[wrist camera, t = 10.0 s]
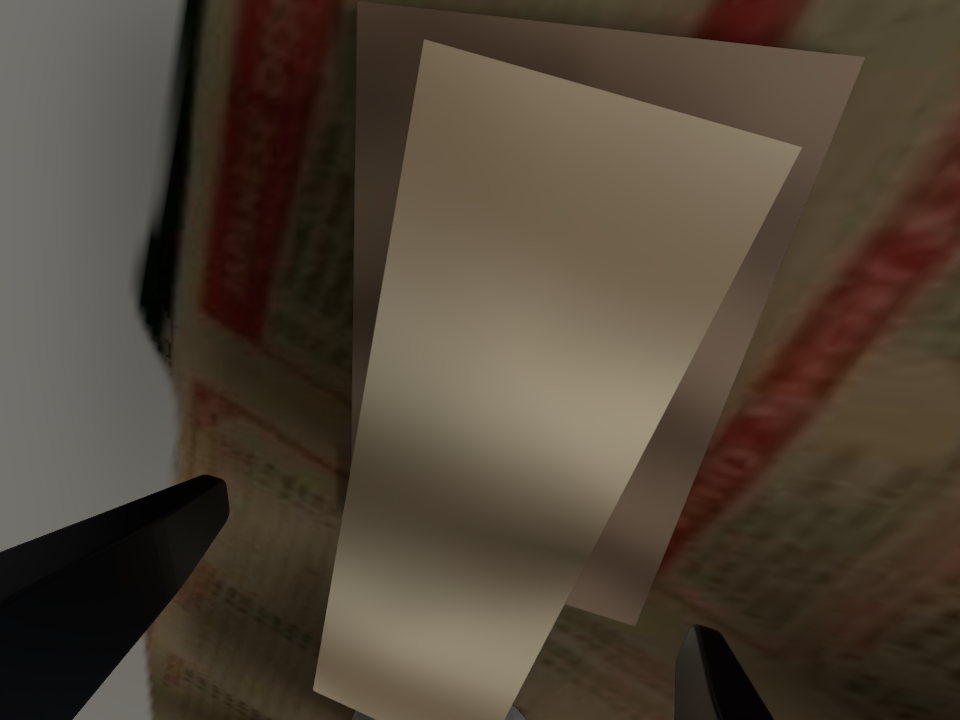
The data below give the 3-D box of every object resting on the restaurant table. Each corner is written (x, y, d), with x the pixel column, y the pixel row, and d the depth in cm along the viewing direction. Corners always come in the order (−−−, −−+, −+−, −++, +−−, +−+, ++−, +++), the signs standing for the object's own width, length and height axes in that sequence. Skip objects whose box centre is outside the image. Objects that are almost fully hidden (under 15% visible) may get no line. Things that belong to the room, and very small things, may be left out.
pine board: (510, 635, 17) (479, 767, 14) (375, 578, 18) (312, 690, 14) (741, 136, 10) (803, 147, 6) (494, 66, 10) (424, 38, 7)
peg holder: (635, 604, 21) (635, 704, 17) (360, 520, 23) (311, 593, 19) (847, 62, 12) (937, 38, 8) (374, 8, 14) (289, -28, 11)
